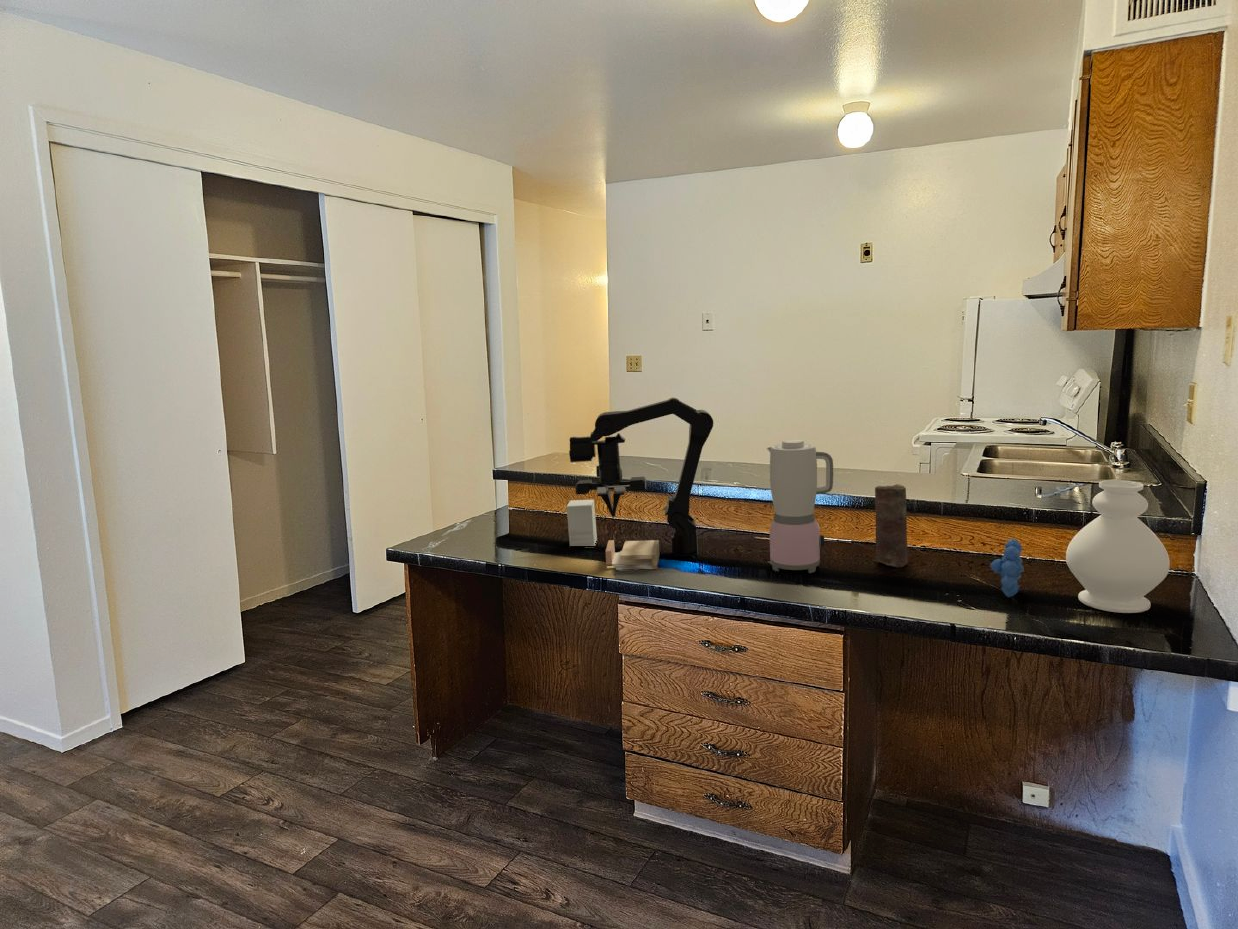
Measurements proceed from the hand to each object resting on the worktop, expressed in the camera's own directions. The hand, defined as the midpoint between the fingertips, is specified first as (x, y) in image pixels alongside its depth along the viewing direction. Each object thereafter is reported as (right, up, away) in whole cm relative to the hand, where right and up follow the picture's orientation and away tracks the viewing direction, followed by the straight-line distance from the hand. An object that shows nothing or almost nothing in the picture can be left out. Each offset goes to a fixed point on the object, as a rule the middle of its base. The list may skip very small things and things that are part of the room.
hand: (613, 516), depth 207 cm
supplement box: (-9, -9, +15) cm, 20 cm away
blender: (+47, -12, -15) cm, 51 cm away
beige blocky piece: (+5, -12, -4) cm, 13 cm away
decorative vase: (+104, -15, -49) cm, 116 cm away
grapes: (+86, -14, -41) cm, 96 cm away
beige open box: (+6, -12, -4) cm, 14 cm away
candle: (+69, -11, -17) cm, 72 cm away
